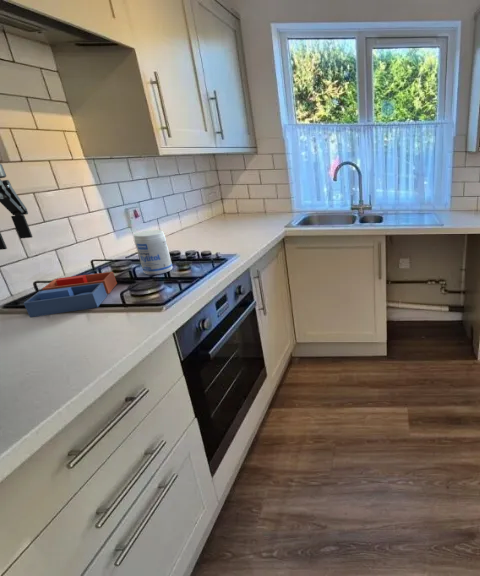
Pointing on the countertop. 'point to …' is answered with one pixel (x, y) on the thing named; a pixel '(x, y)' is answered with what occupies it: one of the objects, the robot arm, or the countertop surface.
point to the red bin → (89, 282)
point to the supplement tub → (153, 252)
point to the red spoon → (72, 280)
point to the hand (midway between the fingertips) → (13, 243)
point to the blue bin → (67, 301)
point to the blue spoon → (57, 293)
